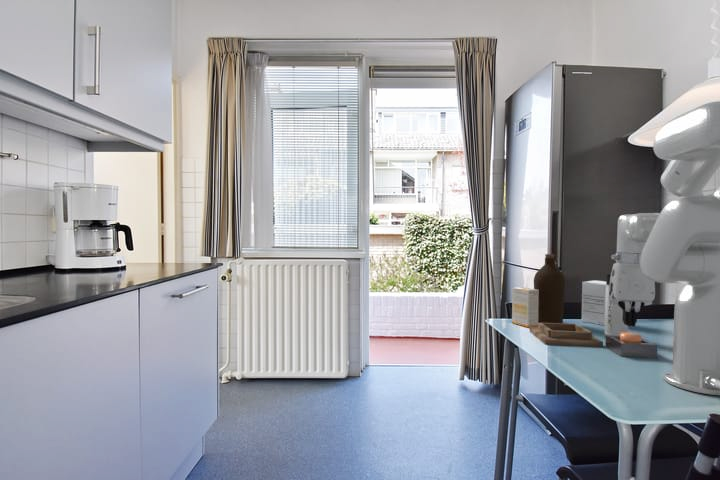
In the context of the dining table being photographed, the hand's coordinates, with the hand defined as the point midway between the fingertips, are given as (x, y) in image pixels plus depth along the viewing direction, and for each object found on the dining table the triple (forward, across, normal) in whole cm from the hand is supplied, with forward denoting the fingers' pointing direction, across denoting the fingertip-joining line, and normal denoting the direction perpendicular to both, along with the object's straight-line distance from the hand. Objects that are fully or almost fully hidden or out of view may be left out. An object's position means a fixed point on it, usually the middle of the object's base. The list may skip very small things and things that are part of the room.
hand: (629, 325), depth 117 cm
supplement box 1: (+9, -20, +30) cm, 37 cm away
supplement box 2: (+9, +9, +40) cm, 42 cm away
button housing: (+7, 0, -1) cm, 7 cm away
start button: (+5, 0, -1) cm, 5 cm away
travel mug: (+8, +4, +16) cm, 18 cm away
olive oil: (+9, -10, +36) cm, 38 cm away
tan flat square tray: (+8, -13, +12) cm, 19 cm away
